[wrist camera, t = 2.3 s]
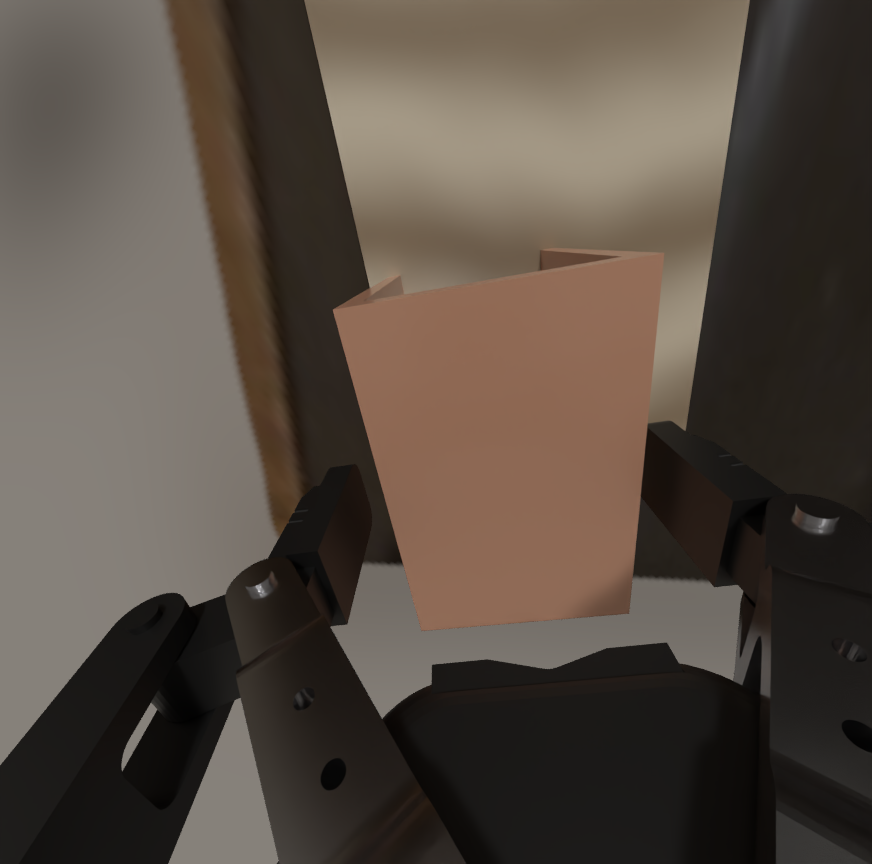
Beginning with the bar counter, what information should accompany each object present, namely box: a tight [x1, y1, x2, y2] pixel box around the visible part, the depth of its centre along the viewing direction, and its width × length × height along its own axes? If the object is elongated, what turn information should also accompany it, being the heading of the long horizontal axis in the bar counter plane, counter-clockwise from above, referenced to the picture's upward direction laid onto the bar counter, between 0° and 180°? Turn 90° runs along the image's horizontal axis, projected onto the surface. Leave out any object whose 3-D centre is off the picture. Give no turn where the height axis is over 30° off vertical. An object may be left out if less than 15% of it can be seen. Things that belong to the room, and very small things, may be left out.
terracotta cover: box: [333, 248, 664, 631], centre depth 13 cm, size 10×6×8 cm, turn 9°
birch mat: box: [304, 0, 750, 430], centre depth 14 cm, size 24×13×1 cm, turn 9°
